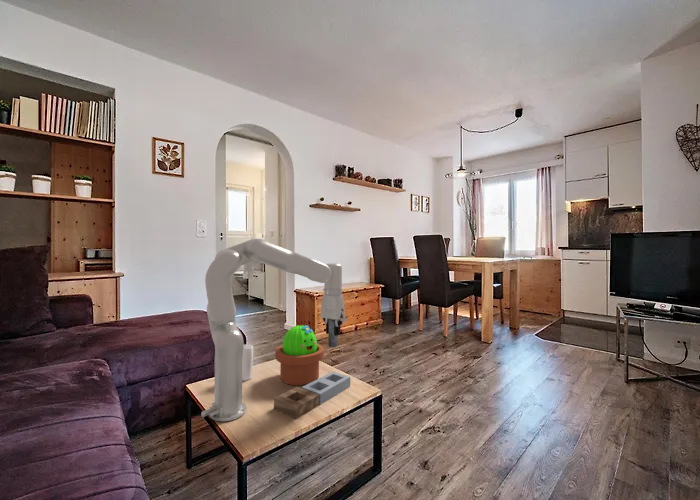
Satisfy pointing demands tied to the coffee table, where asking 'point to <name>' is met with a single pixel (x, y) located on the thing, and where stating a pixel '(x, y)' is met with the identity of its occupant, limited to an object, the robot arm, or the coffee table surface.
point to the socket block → (296, 402)
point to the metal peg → (332, 334)
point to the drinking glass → (247, 362)
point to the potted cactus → (299, 356)
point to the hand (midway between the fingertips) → (333, 333)
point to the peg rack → (328, 386)
